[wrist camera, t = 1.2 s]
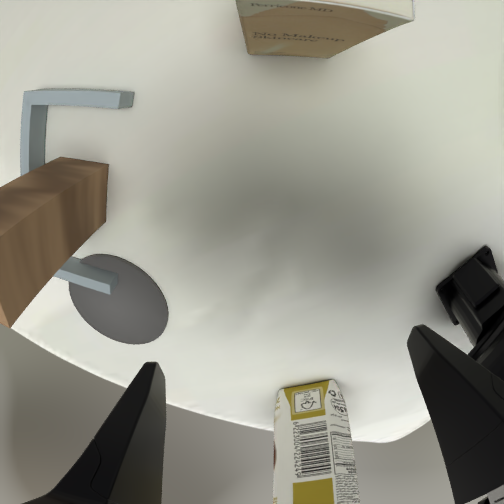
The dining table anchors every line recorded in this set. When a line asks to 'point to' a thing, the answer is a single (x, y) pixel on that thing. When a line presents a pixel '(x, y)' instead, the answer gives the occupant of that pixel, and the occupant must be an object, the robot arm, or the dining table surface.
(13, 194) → the walnut block
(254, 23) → the box
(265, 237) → the dining table surface
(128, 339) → the coaster
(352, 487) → the juice carton
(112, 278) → the grey u-frame
